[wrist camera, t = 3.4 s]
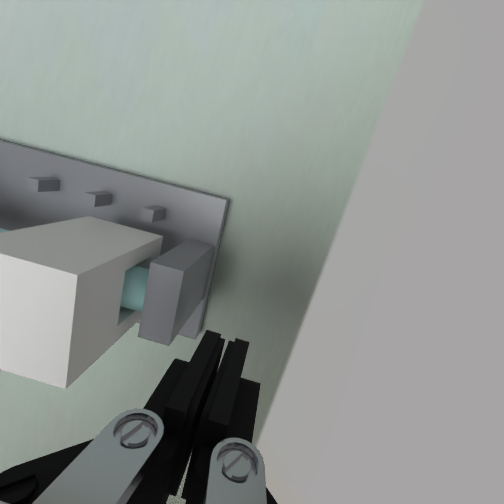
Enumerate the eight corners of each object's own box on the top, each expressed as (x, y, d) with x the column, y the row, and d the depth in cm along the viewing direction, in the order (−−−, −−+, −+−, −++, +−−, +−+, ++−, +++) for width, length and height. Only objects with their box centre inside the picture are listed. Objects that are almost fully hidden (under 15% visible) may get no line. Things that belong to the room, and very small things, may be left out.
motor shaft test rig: (229, 199, 22) (189, 213, 13) (200, 332, 25) (149, 418, 16) (-36, 129, 24) (-241, 99, 14) (-37, 264, 26) (-209, 309, 17)
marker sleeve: (163, 236, 20) (77, 275, 12) (150, 309, 21) (65, 389, 13) (89, 216, 20) (-44, 241, 12) (80, 289, 21) (-44, 356, 13)
